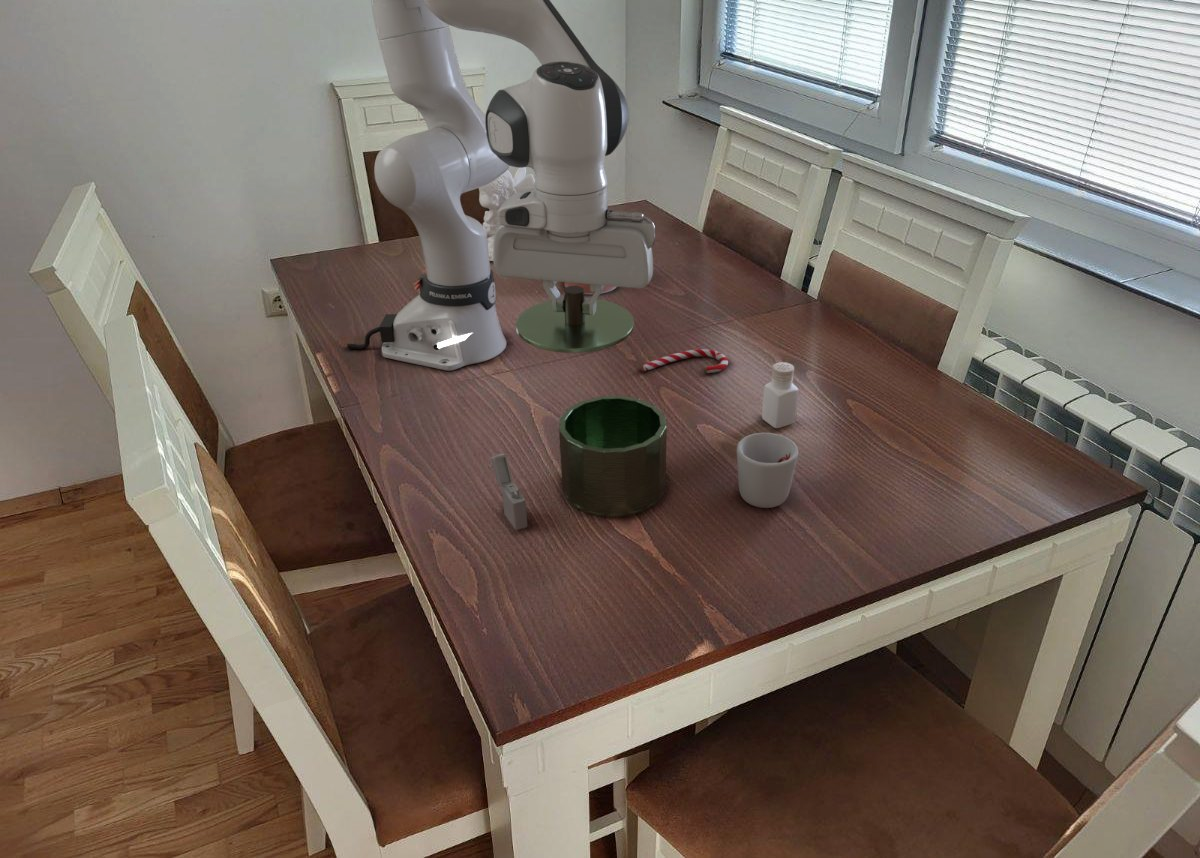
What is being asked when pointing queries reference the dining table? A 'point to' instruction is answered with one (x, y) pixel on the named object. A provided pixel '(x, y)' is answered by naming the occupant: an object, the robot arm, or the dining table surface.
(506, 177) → the cherub figurine
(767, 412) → the pepper shaker
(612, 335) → the tin lid
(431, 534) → the dining table surface
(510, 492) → the lighter
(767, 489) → the cup
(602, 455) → the tin
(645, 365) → the candy cane
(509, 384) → the dining table surface
